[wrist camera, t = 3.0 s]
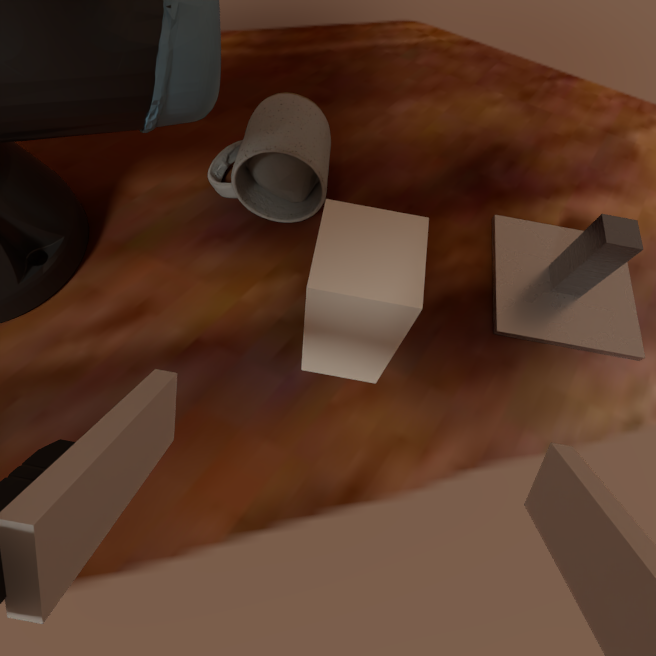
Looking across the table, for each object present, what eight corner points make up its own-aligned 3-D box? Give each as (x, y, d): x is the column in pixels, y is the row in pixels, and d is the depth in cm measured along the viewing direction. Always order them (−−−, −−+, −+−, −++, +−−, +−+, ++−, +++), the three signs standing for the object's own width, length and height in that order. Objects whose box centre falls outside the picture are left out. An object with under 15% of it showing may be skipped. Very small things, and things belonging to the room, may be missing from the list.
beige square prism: (301, 369, 30) (306, 287, 19) (314, 304, 32) (325, 198, 22) (375, 383, 30) (422, 308, 19) (383, 317, 32) (429, 217, 22)
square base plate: (493, 333, 33) (544, 287, 26) (491, 218, 38) (534, 155, 31) (639, 360, 33) (727, 321, 26) (618, 242, 38) (686, 184, 31)
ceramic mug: (329, 161, 39) (336, 84, 32) (323, 228, 36) (328, 158, 29) (220, 149, 39) (203, 70, 32) (203, 216, 35) (179, 143, 29)
